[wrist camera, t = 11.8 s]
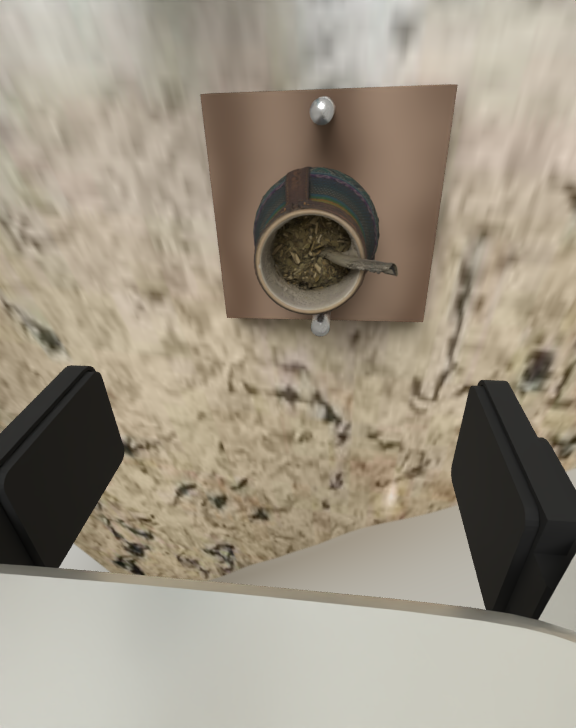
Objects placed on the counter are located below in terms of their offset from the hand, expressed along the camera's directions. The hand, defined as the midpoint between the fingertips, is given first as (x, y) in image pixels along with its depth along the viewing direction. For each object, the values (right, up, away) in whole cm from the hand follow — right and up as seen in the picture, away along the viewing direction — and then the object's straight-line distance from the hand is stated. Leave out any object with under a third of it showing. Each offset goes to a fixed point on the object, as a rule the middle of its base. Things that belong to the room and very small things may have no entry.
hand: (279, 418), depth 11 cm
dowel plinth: (+3, +12, +19) cm, 22 cm away
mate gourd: (+2, +11, +17) cm, 20 cm away
